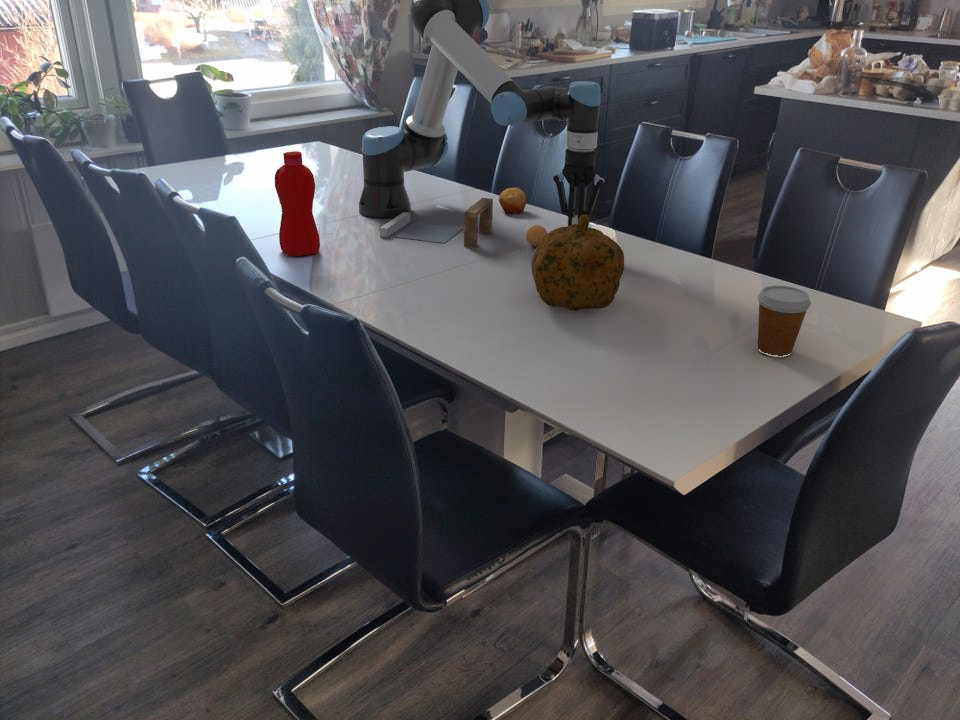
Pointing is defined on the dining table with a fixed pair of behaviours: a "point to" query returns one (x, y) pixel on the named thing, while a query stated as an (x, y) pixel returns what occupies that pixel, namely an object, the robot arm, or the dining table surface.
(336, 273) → the dining table surface
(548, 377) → the dining table surface
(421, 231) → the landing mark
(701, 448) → the dining table surface
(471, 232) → the bridge
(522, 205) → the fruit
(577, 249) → the decorative pumpkin
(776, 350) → the disposable coffee cup
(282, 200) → the water bottle
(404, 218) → the wall
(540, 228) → the ball
